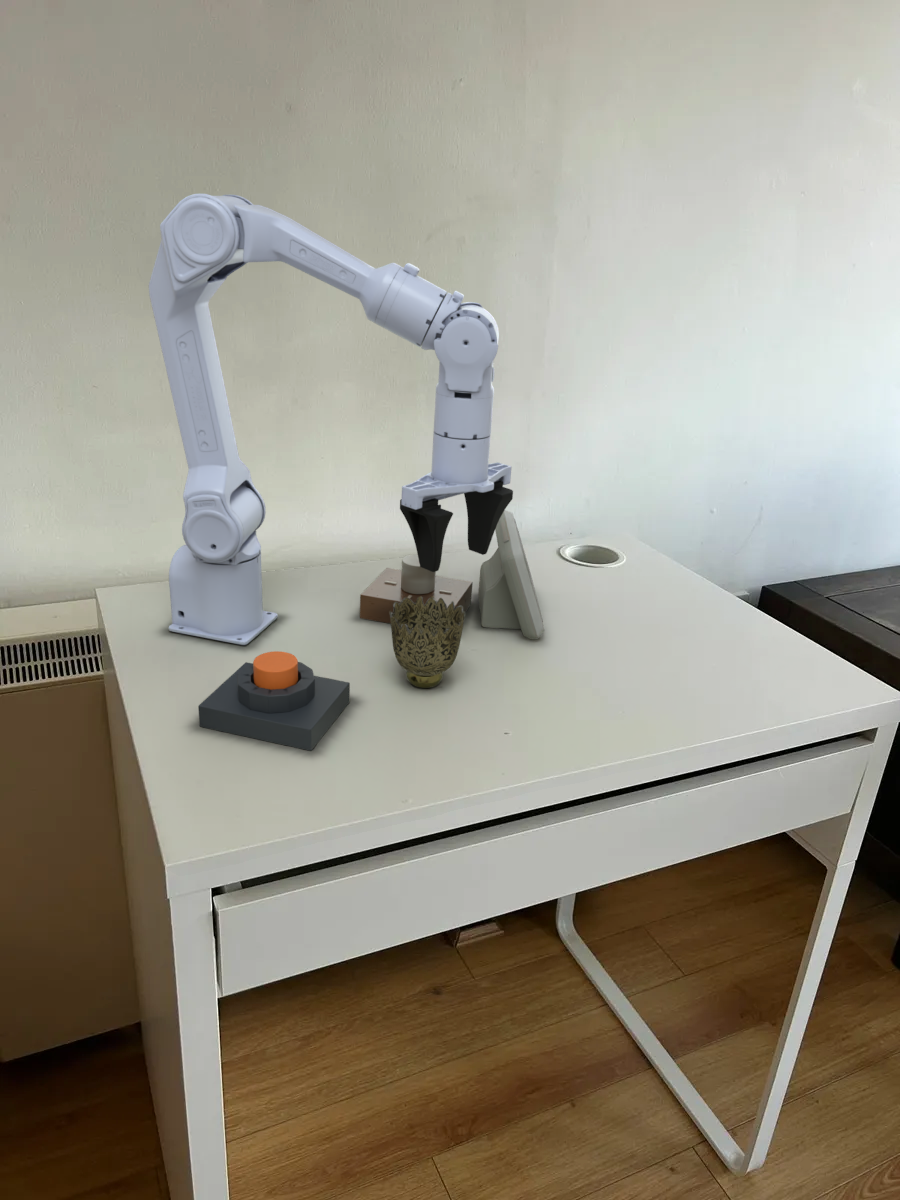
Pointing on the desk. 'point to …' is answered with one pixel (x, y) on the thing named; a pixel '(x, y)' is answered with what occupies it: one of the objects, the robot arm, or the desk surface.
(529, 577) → the digital clock
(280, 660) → the orange button cap
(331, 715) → the button base
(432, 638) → the cup
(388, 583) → the dial panel
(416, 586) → the dial
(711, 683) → the desk surface
